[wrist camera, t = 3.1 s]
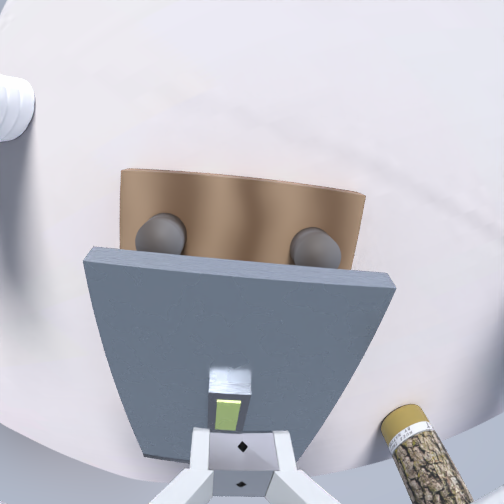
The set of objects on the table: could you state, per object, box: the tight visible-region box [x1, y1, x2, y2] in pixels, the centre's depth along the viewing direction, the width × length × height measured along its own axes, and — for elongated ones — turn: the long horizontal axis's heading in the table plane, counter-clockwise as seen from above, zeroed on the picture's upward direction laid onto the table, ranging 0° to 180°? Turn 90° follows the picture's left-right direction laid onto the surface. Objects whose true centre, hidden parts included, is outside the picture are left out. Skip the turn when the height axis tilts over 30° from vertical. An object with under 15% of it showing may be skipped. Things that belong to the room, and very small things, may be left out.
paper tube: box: [381, 404, 474, 504], centre depth 26 cm, size 7×7×25 cm
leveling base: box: [120, 168, 366, 270], centre depth 29 cm, size 20×32×5 cm, turn 173°
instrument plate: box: [83, 246, 396, 463], centre depth 23 cm, size 17×27×3 cm, turn 173°
